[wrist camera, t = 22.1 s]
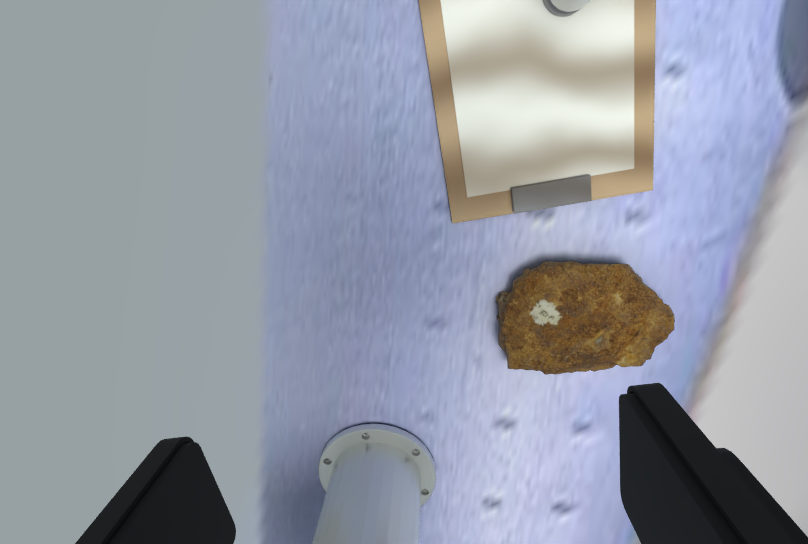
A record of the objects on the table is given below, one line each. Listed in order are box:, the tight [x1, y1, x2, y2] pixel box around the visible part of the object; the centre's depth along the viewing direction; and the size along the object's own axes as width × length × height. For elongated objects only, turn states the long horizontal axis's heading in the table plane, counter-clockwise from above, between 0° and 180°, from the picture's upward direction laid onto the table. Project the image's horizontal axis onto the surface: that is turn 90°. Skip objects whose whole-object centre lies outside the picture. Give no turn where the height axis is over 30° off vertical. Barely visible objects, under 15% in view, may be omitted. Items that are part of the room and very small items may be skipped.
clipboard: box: [419, 0, 656, 223], centre depth 31 cm, size 20×16×2 cm
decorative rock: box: [496, 261, 675, 374], centre depth 37 cm, size 11×4×15 cm
